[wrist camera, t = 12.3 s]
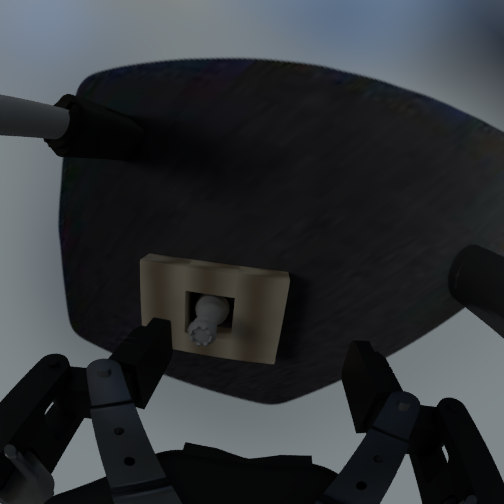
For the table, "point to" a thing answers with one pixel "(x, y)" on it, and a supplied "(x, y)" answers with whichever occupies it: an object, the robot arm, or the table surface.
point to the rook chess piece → (208, 318)
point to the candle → (72, 127)
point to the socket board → (221, 284)
